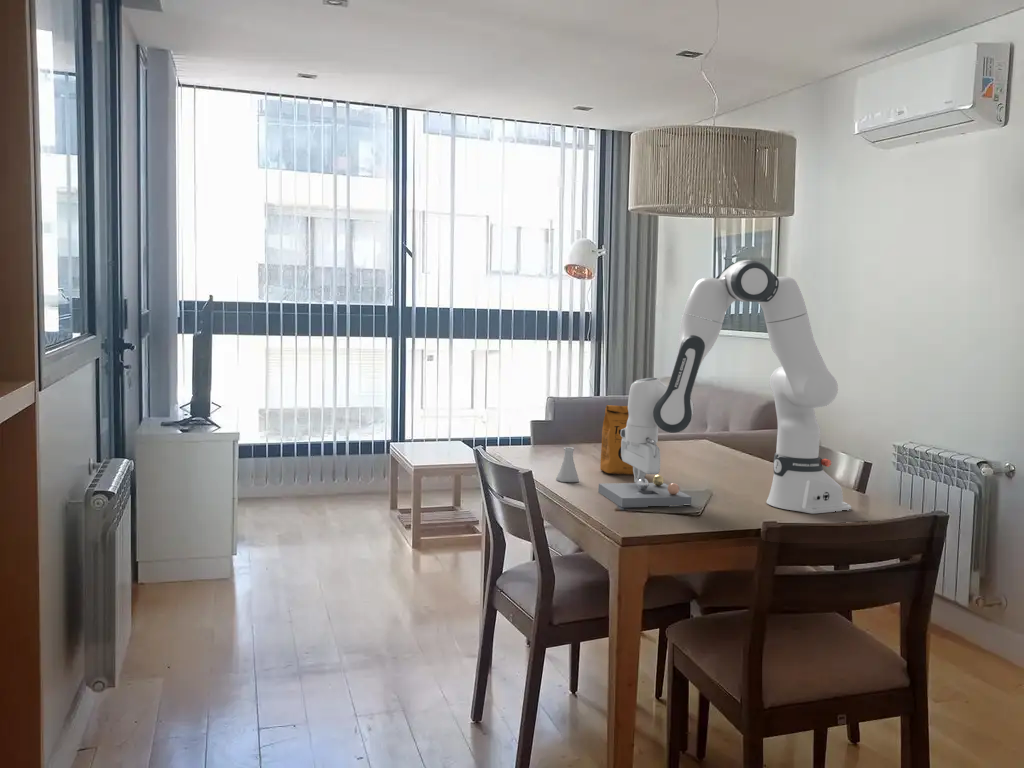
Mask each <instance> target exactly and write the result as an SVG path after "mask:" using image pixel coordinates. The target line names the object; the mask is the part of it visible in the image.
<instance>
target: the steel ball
mask: <svg viewBox="0 0 1024 768" xmlns="http://www.w3.org/2000/svg"><path fill="white" fill-rule="evenodd" d="M649 483H650V482H649V480H648V479H647V478H646V477H645V478H641V479H639V480H638V482H637V486H638V488H639V489H641V490H645V489H647V488H648V486H649Z"/></svg>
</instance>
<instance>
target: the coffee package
mask: <svg viewBox="0 0 1024 768" xmlns="http://www.w3.org/2000/svg"><path fill="white" fill-rule="evenodd" d="M628 417H629V413H628V405H610V404H609V405H608V404H607V405H606V407H605V411H604V417H603V422H602V429H601V447H600V449H601V450H600V466H599V467H600V469H599V470H600V471H602V472H604V473H607V474H611V475H626V476H627V475H634V473H633V466H631V465H629V464H628V463H626V462H624V461H623V460H622V457H621V441H622V438H623V437H621V430H622V429H624V428H626V427H627V420H628Z"/></svg>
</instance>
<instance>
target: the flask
mask: <svg viewBox="0 0 1024 768" xmlns="http://www.w3.org/2000/svg"><path fill="white" fill-rule="evenodd" d="M563 450H564V454H563V455H564V456H563V460H562V462H561V465H560V468H559V470H558V473H557V475H556V477H555V480H556V481H558V482H561V483H578V482H580V478H579V475H578V472H577V469H576V468H577V467H576V464H575V461H574V451H575V447H570V446H569V447H568V446H566V447H563Z"/></svg>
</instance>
